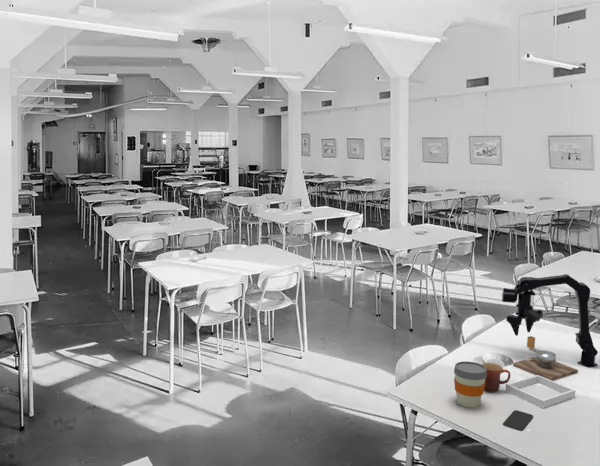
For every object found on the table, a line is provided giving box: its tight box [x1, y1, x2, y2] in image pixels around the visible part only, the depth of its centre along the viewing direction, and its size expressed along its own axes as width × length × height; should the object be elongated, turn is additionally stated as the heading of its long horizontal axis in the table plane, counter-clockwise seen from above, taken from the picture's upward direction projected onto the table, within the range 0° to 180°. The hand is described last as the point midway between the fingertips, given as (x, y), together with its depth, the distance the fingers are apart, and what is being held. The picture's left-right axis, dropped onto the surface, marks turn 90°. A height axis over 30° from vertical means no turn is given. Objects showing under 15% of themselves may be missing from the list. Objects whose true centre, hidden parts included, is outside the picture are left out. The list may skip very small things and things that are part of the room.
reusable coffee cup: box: [453, 360, 487, 409], centre depth 220 cm, size 13×13×15 cm
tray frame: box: [504, 375, 576, 409], centre depth 230 cm, size 21×18×3 cm
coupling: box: [526, 335, 557, 363], centre depth 258 cm, size 14×8×8 cm, turn 27°
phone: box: [502, 409, 534, 432], centre depth 206 cm, size 7×1×15 cm
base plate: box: [512, 356, 579, 381], centre depth 256 cm, size 20×20×4 cm
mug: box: [480, 362, 511, 393], centre depth 232 cm, size 12×9×10 cm
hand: (522, 333), depth 270 cm, fingers open, 9 cm apart
